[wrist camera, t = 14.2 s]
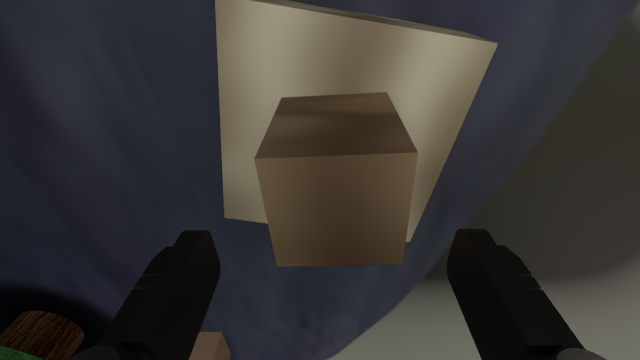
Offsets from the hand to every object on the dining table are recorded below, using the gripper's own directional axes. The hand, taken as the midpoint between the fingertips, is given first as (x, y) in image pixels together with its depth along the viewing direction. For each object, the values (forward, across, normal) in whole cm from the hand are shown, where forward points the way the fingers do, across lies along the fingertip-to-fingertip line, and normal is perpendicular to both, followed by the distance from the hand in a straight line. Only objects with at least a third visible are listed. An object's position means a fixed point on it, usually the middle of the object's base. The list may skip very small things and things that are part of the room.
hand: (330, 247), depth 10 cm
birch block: (+12, 0, 0) cm, 12 cm away
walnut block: (+7, 0, 0) cm, 7 cm away
